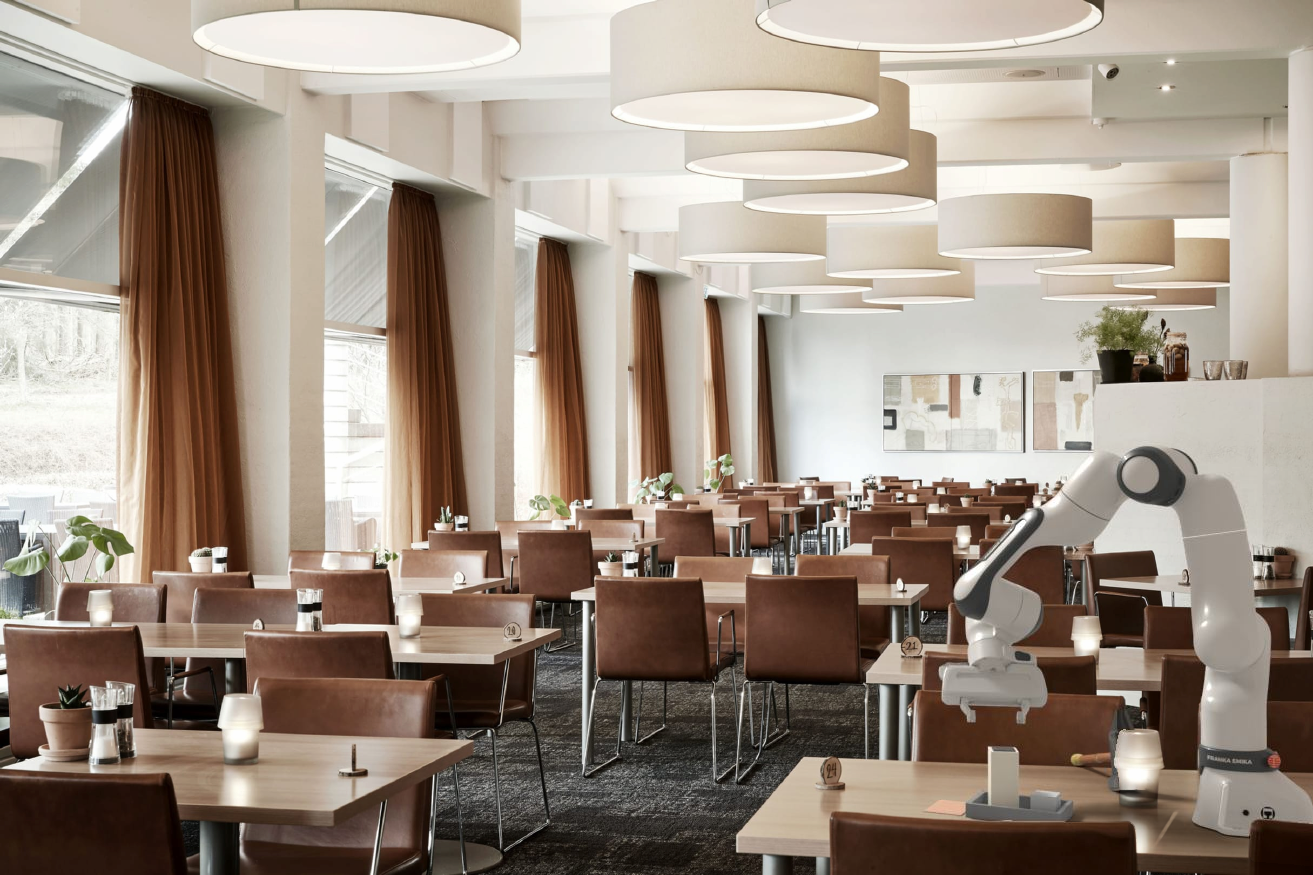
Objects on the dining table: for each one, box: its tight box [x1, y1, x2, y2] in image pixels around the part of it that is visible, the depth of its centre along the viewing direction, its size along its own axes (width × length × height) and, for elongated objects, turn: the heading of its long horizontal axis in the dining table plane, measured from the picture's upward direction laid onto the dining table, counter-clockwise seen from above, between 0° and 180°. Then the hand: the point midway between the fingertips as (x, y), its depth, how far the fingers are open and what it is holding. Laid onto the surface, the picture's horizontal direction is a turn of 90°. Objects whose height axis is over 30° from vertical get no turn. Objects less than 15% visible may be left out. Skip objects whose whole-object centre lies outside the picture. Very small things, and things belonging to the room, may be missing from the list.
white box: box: [987, 745, 1020, 808], centre depth 259 cm, size 5×5×12 cm
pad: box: [923, 799, 966, 817], centre depth 264 cm, size 7×11×1 cm, turn 153°
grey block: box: [1029, 789, 1062, 812], centre depth 256 cm, size 4×4×4 cm
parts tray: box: [965, 790, 1074, 821], centre depth 258 cm, size 17×12×3 cm
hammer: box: [1070, 709, 1135, 792], centre depth 295 cm, size 6×16×30 cm
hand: (996, 721), depth 270 cm, fingers open, 8 cm apart
